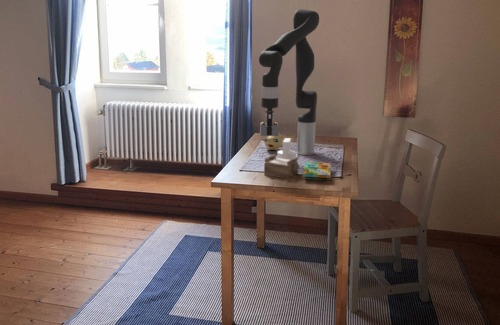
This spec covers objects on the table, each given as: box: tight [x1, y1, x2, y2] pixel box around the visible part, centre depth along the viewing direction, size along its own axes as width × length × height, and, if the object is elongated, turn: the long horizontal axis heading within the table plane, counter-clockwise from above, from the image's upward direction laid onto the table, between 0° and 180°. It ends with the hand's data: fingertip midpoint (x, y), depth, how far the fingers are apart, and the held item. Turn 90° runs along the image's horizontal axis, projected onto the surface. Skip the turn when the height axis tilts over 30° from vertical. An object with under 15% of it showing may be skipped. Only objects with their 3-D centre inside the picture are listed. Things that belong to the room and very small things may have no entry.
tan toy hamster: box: [264, 132, 284, 152], centre depth 262 cm, size 10×12×11 cm
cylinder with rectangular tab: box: [276, 137, 297, 160], centre depth 235 cm, size 9×9×12 cm
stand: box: [263, 153, 299, 179], centre depth 218 cm, size 10×12×8 cm
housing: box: [259, 121, 279, 137], centre depth 219 cm, size 8×4×6 cm, turn 91°
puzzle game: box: [302, 161, 332, 181], centre depth 216 cm, size 12×5×20 cm
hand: (269, 133), depth 219 cm, fingers closed on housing, 4 cm apart
